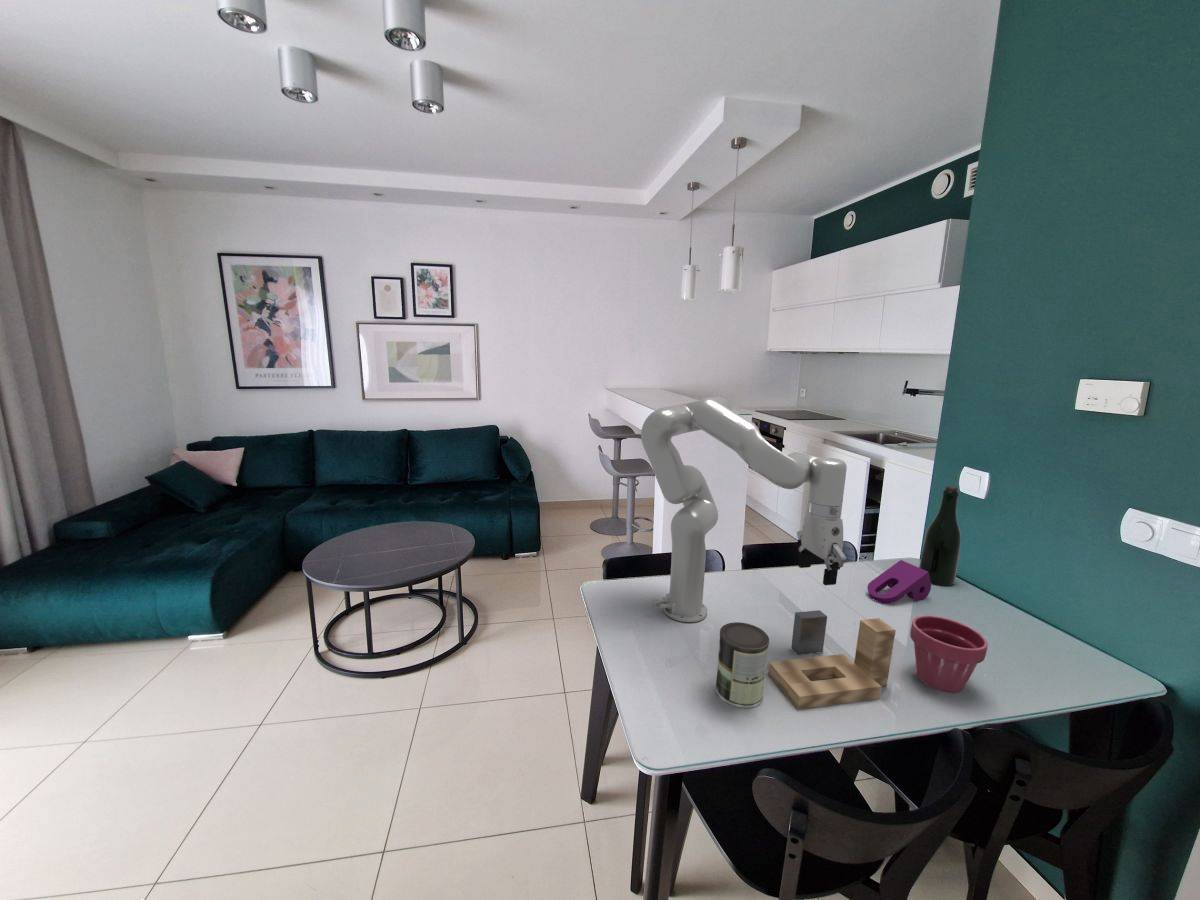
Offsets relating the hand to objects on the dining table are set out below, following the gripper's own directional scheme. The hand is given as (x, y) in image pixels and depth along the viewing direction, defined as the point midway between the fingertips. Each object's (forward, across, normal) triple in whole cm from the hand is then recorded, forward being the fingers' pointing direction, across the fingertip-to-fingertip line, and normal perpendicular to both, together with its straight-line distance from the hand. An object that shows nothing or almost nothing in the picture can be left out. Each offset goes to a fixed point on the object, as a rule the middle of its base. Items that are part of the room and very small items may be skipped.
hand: (816, 575), depth 121 cm
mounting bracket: (+21, +22, -46) cm, 55 cm away
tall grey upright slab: (+20, 0, 0) cm, 21 cm away
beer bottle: (+21, +30, -70) cm, 79 cm away
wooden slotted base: (+21, -13, +3) cm, 24 cm away
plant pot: (+21, -16, -24) cm, 35 cm away
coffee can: (+21, -12, +25) cm, 35 cm away
